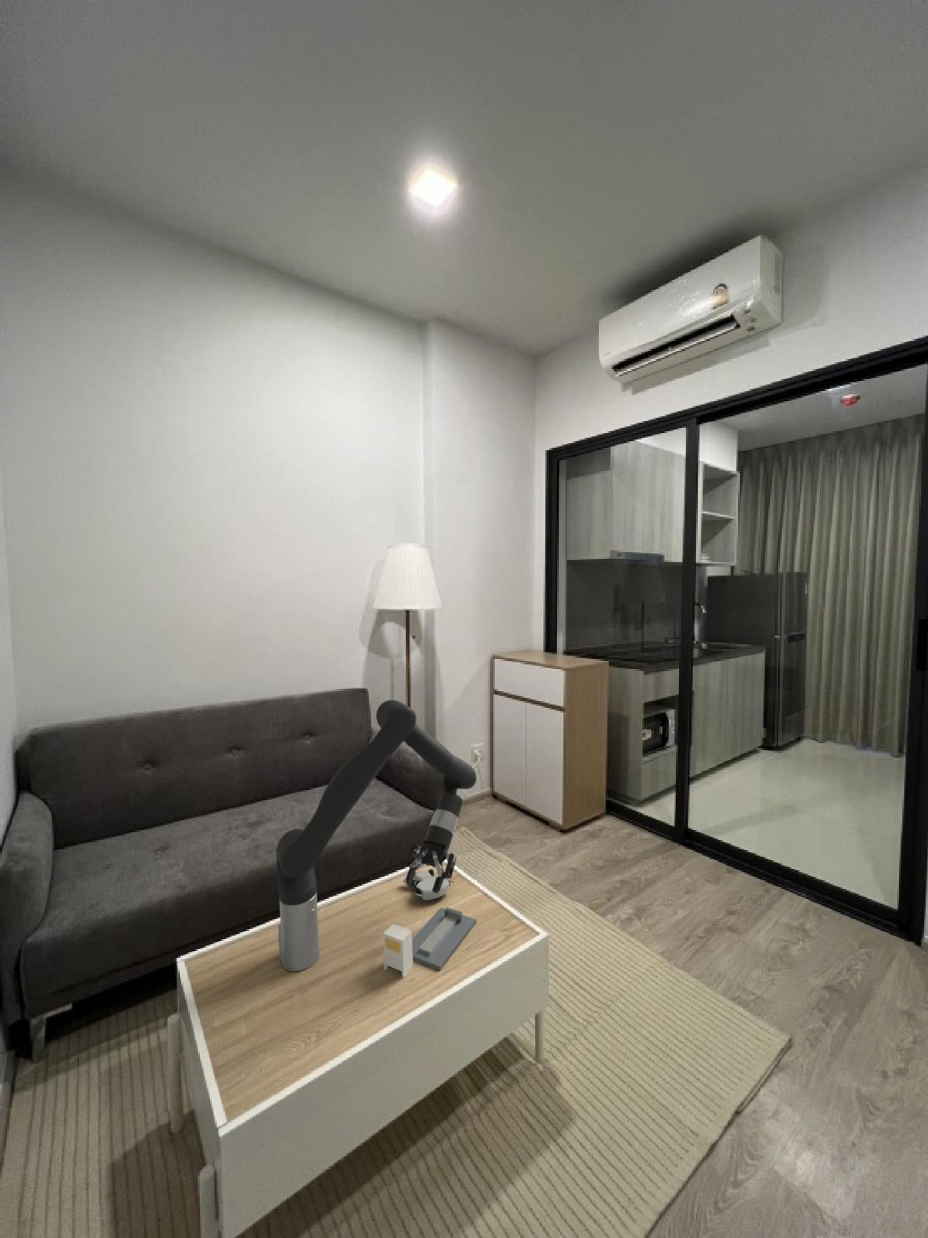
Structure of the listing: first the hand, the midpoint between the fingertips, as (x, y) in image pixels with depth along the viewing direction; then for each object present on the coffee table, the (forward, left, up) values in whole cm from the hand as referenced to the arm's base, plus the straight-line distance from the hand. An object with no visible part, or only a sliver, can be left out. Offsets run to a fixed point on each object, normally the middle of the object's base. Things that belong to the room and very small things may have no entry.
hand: (421, 888), depth 132 cm
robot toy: (-11, +20, -15) cm, 27 cm away
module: (0, -11, -15) cm, 18 cm away
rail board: (+4, +3, -14) cm, 15 cm away
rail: (+4, +3, -14) cm, 15 cm away
